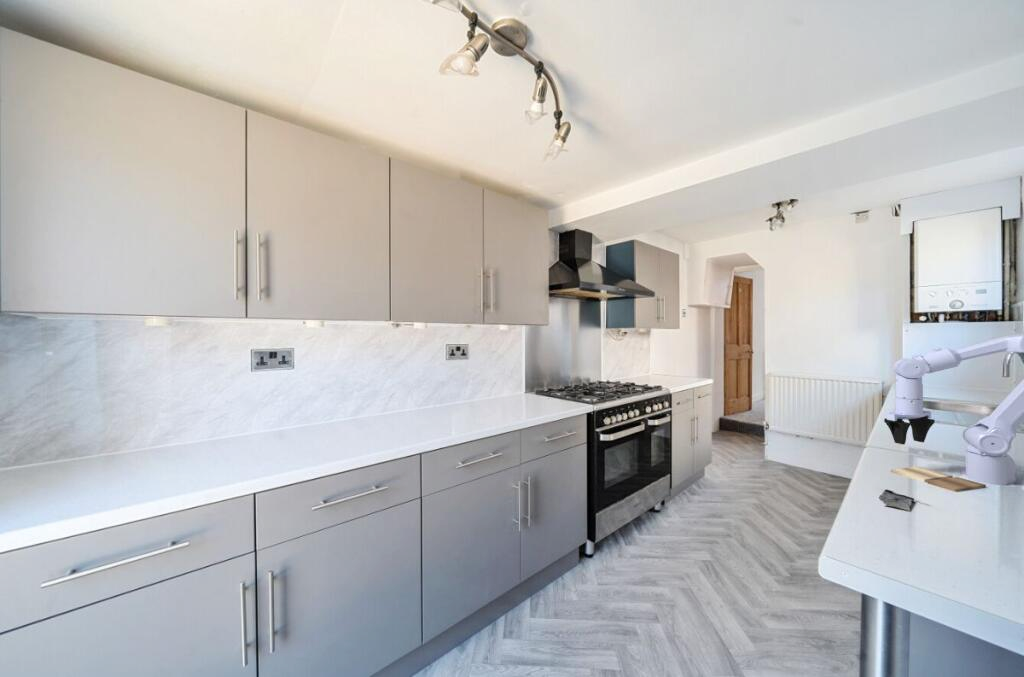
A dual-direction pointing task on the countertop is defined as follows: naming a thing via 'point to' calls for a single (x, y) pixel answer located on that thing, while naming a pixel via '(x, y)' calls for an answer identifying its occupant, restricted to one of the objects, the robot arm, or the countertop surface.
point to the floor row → (956, 484)
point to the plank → (921, 474)
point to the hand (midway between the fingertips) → (909, 442)
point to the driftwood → (896, 500)
